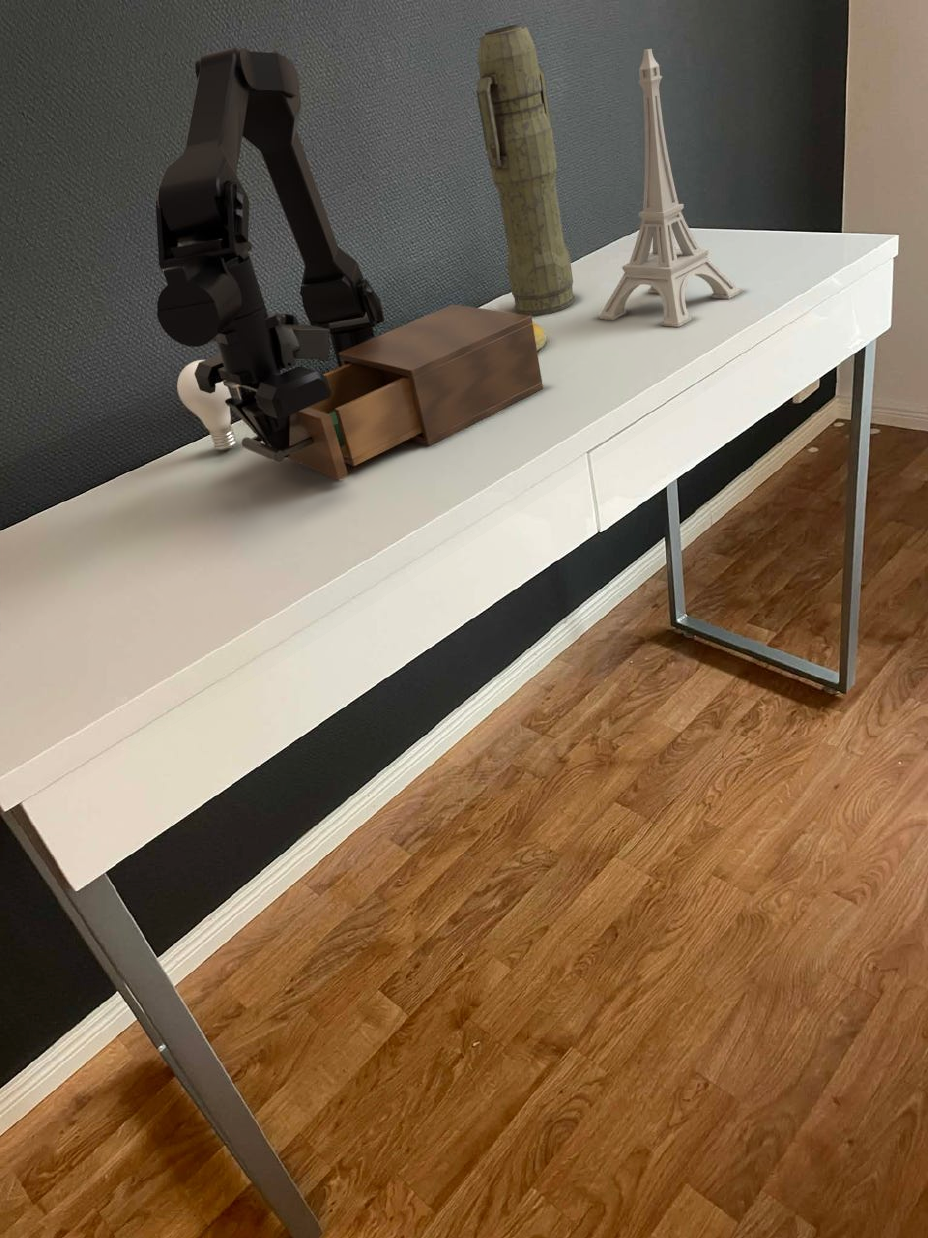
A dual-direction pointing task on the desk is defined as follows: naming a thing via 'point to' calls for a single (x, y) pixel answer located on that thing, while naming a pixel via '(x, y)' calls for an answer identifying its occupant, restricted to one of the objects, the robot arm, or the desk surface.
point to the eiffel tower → (663, 226)
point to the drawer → (349, 421)
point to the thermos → (524, 169)
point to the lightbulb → (208, 406)
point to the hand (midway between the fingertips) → (283, 457)
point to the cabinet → (457, 365)
